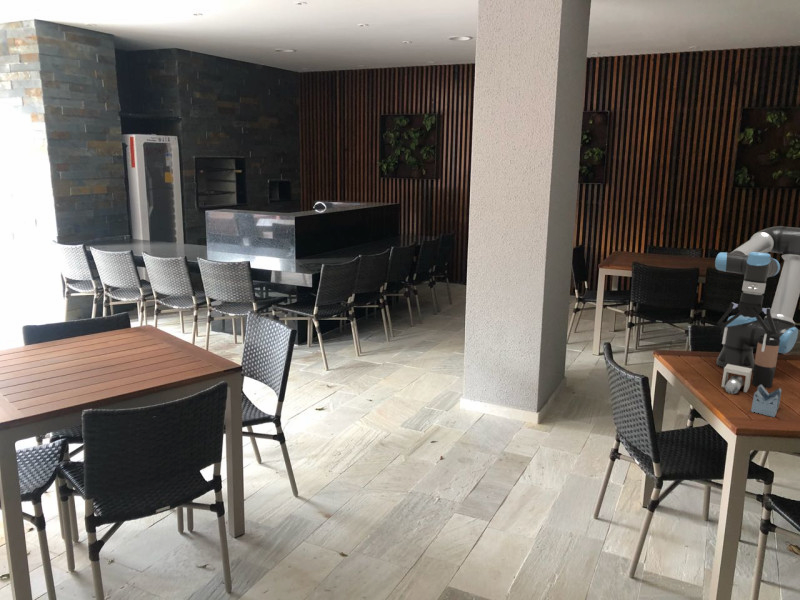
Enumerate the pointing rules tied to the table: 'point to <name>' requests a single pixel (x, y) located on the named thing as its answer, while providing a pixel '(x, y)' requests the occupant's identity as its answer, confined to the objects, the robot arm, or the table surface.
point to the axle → (734, 384)
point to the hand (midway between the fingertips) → (742, 347)
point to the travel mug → (765, 362)
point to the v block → (766, 401)
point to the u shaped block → (737, 370)
